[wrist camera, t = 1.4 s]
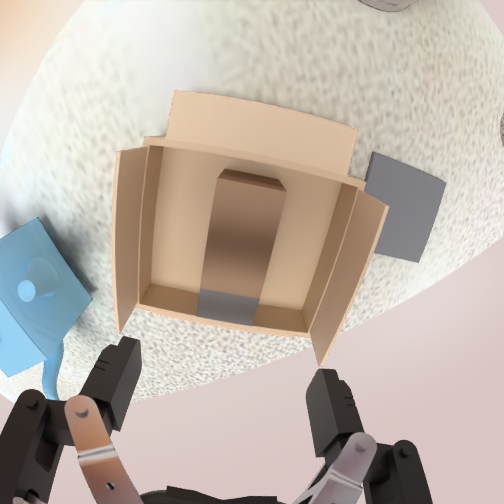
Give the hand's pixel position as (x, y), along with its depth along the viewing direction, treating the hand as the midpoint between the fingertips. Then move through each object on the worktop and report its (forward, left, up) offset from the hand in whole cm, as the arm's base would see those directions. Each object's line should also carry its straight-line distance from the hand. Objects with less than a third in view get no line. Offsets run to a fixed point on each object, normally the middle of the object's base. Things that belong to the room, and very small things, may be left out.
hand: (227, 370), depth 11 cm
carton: (-2, 0, -18) cm, 18 cm away
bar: (0, 0, -17) cm, 17 cm away
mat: (-6, +16, -18) cm, 24 cm away
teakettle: (+10, -24, -18) cm, 32 cm away
